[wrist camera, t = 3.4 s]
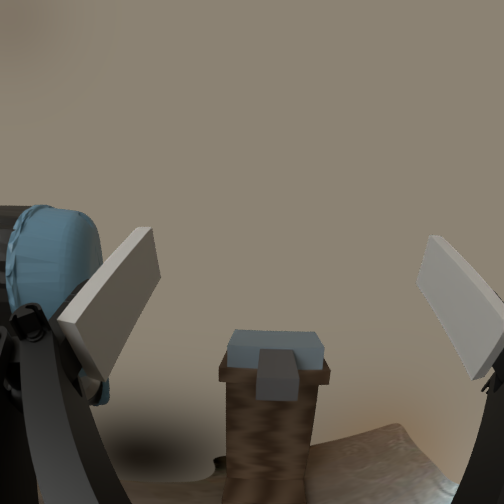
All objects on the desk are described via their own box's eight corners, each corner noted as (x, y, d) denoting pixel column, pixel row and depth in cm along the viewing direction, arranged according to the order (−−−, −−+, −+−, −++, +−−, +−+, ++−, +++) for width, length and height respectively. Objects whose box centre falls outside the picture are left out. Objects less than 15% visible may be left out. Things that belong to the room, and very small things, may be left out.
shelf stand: (221, 504, 33) (218, 367, 34) (228, 474, 42) (228, 346, 43) (305, 507, 32) (330, 370, 33) (301, 476, 41) (319, 349, 42)
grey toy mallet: (214, 398, 25) (213, 372, 25) (234, 348, 42) (235, 329, 42) (337, 401, 24) (341, 375, 24) (313, 350, 41) (314, 331, 41)
